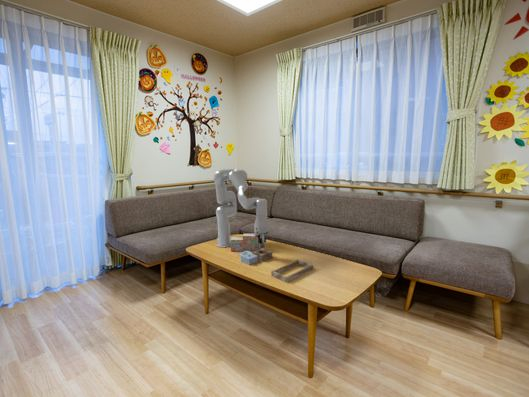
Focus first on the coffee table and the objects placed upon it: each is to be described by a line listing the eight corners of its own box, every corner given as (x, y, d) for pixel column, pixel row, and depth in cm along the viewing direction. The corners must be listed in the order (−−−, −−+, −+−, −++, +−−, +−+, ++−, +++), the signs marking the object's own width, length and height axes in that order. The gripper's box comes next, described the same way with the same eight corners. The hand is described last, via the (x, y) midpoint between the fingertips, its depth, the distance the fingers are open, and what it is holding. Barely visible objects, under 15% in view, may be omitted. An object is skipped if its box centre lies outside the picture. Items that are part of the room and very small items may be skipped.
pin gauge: (259, 247, 193) (259, 233, 191) (262, 246, 195) (262, 232, 193) (262, 248, 191) (262, 234, 189) (265, 247, 193) (265, 233, 191)
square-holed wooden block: (252, 257, 194) (251, 252, 194) (262, 253, 201) (262, 248, 201) (262, 261, 187) (262, 255, 187) (272, 257, 194) (272, 251, 194)
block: (241, 261, 187) (241, 255, 187) (249, 258, 193) (249, 252, 192) (249, 264, 182) (248, 259, 181) (257, 261, 187) (257, 255, 187)
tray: (238, 256, 197) (238, 253, 197) (246, 253, 203) (246, 250, 202) (245, 259, 192) (245, 256, 191) (254, 256, 197) (254, 253, 197)
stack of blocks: (230, 251, 206) (230, 235, 204) (231, 248, 213) (231, 233, 211) (259, 251, 206) (259, 235, 204) (259, 248, 212) (259, 233, 210)
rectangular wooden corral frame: (271, 275, 165) (271, 271, 165) (297, 263, 183) (297, 259, 182) (287, 282, 157) (287, 278, 156) (313, 269, 174) (313, 264, 174)
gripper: (266, 214, 198) (266, 239, 201) (249, 218, 186) (249, 244, 189) (273, 215, 192) (274, 241, 195) (256, 220, 181) (257, 246, 184)
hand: (262, 242), depth 192 cm, fingers closed on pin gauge, 3 cm apart
